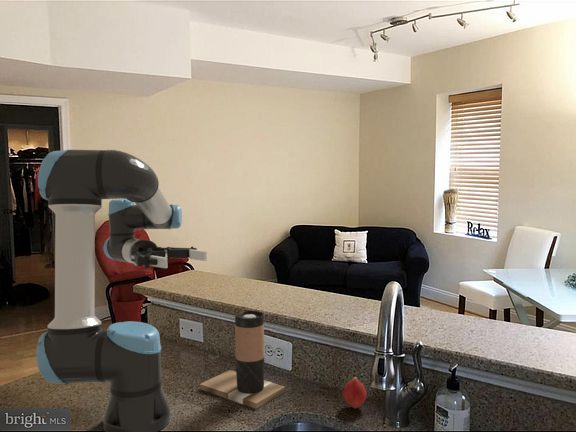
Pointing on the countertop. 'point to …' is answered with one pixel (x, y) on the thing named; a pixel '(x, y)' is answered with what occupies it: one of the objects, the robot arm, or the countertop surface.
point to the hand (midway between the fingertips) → (186, 259)
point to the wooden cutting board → (227, 389)
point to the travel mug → (249, 351)
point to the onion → (354, 393)
